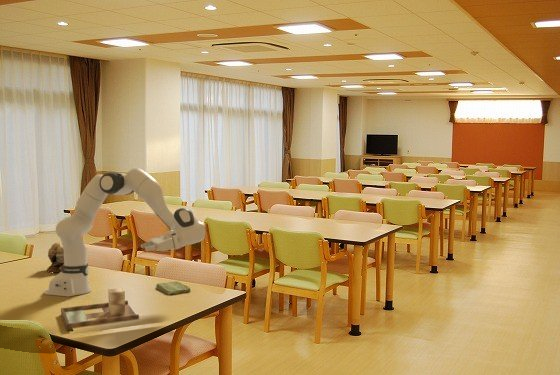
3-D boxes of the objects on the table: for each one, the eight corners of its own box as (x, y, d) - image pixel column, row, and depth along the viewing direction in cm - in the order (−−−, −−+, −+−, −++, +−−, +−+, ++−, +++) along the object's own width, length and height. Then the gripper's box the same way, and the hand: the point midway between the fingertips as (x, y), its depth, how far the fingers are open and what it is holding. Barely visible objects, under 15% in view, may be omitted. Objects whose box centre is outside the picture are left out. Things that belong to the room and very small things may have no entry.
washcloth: (169, 296, 285) (169, 290, 285) (154, 289, 299) (154, 283, 299) (192, 292, 293) (192, 286, 293) (177, 285, 307) (177, 279, 307)
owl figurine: (75, 272, 334) (74, 243, 332) (55, 275, 325) (54, 245, 324) (62, 266, 346) (61, 238, 345) (42, 269, 338) (41, 241, 336)
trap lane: (127, 306, 267) (127, 300, 266) (138, 321, 245) (138, 314, 245) (61, 314, 254) (61, 308, 254) (67, 331, 232) (66, 324, 232)
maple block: (122, 309, 257) (122, 288, 256) (125, 313, 251) (124, 291, 250) (108, 311, 254) (108, 289, 253) (111, 315, 249) (110, 292, 248)
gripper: (165, 230, 272) (137, 238, 267) (177, 235, 254) (146, 243, 248) (168, 243, 273) (140, 251, 268) (180, 249, 255) (149, 257, 249)
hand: (143, 248), depth 258 cm, fingers open, 8 cm apart
